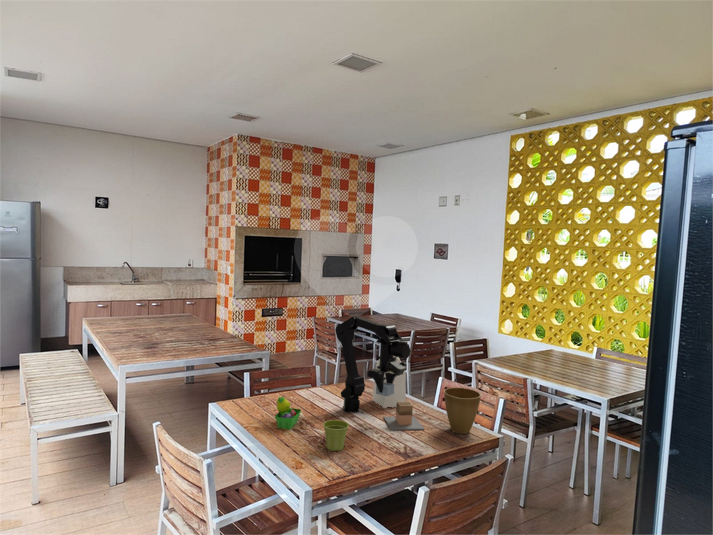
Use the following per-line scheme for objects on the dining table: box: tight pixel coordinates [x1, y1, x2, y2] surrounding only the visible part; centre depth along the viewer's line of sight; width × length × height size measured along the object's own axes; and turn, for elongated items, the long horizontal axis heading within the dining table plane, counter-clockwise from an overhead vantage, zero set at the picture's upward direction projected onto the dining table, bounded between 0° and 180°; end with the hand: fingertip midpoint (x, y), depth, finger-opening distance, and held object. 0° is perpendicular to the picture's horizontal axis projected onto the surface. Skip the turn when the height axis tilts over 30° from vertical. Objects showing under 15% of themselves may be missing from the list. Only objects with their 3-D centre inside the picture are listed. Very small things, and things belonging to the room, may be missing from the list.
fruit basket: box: [274, 396, 302, 430], centre depth 192 cm, size 11×9×11 cm
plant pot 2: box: [443, 387, 482, 435], centre depth 196 cm, size 15×15×16 cm
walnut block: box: [395, 401, 414, 416], centre depth 200 cm, size 6×6×4 cm
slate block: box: [376, 382, 394, 396], centre depth 200 cm, size 6×6×4 cm
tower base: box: [383, 410, 425, 431], centre depth 200 cm, size 14×14×5 cm
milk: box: [372, 356, 407, 409], centre depth 226 cm, size 12×12×26 cm
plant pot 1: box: [322, 419, 350, 452], centre depth 172 cm, size 9×9×9 cm
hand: (385, 391), depth 200 cm, fingers closed on slate block, 6 cm apart
